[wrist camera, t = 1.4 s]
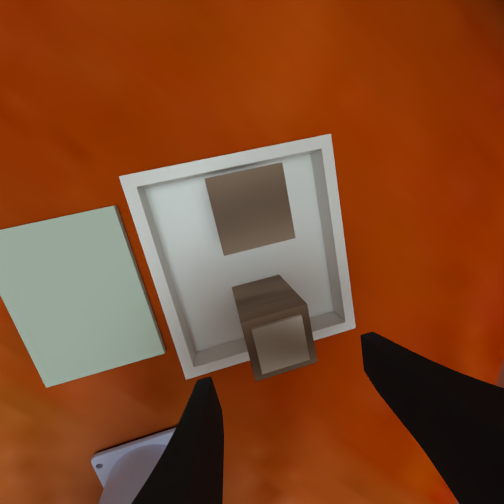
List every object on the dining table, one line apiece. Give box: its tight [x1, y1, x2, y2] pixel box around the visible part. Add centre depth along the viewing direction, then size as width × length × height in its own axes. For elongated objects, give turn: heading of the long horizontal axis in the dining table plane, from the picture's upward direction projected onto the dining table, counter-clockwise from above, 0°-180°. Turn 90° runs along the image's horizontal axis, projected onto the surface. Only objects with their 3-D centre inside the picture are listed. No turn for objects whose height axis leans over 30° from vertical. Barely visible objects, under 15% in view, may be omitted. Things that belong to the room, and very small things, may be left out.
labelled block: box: [232, 275, 317, 382], centre depth 17 cm, size 4×4×6 cm
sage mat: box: [0, 206, 166, 388], centre depth 18 cm, size 12×9×1 cm
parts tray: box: [119, 134, 356, 380], centre depth 19 cm, size 15×14×2 cm
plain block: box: [205, 162, 296, 256], centre depth 16 cm, size 4×4×6 cm
